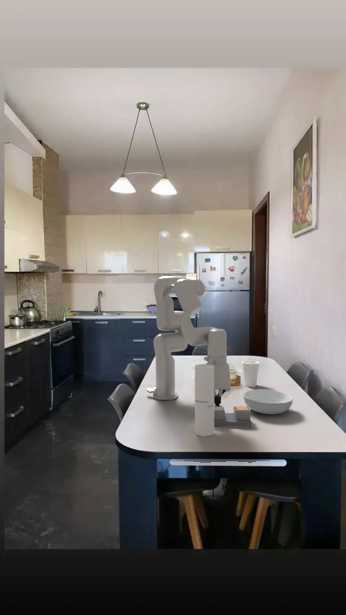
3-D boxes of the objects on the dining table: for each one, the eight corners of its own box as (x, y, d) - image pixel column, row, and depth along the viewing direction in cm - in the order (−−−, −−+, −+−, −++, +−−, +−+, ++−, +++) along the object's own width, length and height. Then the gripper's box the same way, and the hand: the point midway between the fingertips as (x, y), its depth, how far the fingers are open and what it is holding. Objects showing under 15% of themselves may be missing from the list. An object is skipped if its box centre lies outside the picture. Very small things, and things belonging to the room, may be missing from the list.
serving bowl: (285, 423, 145) (285, 406, 144) (236, 413, 156) (236, 397, 155) (297, 408, 162) (298, 393, 162) (252, 400, 173) (252, 386, 173)
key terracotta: (237, 417, 143) (237, 410, 143) (235, 413, 148) (235, 406, 147) (248, 417, 143) (248, 410, 143) (246, 413, 148) (246, 406, 147)
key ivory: (211, 414, 144) (211, 406, 143) (210, 410, 148) (211, 403, 148) (222, 414, 143) (222, 407, 143) (221, 410, 148) (221, 403, 148)
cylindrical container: (193, 429, 139) (193, 364, 137) (212, 428, 139) (212, 363, 138) (196, 436, 132) (196, 368, 130) (215, 435, 132) (215, 368, 131)
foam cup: (240, 386, 198) (240, 363, 198) (243, 382, 207) (243, 360, 206) (257, 388, 195) (257, 364, 194) (260, 384, 203) (260, 361, 203)
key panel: (210, 426, 141) (210, 412, 141) (208, 417, 151) (208, 404, 151) (251, 427, 140) (251, 413, 140) (247, 417, 150) (247, 404, 150)
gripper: (198, 361, 141) (198, 408, 142) (237, 361, 140) (237, 408, 141) (197, 358, 148) (198, 402, 149) (234, 358, 148) (234, 402, 149)
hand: (217, 405), depth 145 cm, fingers closed
